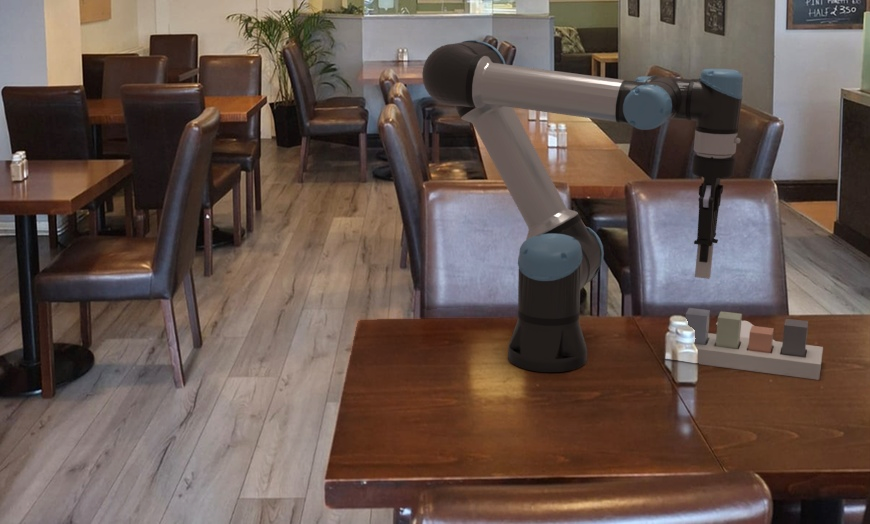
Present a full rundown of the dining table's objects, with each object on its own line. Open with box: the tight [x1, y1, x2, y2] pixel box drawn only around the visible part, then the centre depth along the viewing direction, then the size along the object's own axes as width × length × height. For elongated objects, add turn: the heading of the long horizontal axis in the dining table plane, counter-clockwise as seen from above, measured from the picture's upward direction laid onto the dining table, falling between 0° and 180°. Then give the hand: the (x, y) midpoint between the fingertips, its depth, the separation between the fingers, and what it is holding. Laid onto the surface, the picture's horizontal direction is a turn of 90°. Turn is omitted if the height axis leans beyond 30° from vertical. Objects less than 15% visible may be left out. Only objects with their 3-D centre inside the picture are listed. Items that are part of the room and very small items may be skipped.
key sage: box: [716, 311, 743, 349], centre depth 199 cm, size 4×4×6 cm
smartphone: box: [715, 320, 776, 341], centre depth 214 cm, size 7×1×15 cm
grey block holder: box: [664, 332, 824, 381], centre depth 199 cm, size 28×10×3 cm, turn 68°
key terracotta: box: [748, 325, 775, 353], centre depth 197 cm, size 4×4×6 cm
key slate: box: [685, 307, 711, 345], centre depth 201 cm, size 4×4×6 cm
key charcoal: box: [782, 318, 809, 357], centre depth 194 cm, size 4×4×6 cm
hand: (702, 276), depth 198 cm, fingers closed
